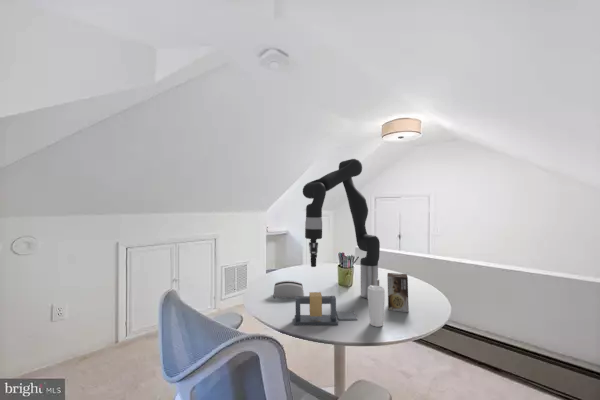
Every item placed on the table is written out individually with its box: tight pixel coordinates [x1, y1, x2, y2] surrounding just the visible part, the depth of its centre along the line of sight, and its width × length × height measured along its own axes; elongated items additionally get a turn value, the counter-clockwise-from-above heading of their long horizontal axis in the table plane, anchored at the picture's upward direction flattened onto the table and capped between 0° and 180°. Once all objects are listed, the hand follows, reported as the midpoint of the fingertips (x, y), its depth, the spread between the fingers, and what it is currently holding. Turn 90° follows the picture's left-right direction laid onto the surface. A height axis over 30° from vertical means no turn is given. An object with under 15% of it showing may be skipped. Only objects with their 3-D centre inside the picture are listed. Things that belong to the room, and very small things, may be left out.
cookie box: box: [386, 272, 410, 313], centre depth 122 cm, size 9×6×16 cm
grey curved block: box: [273, 280, 305, 299], centre depth 139 cm, size 17×5×10 cm, turn 88°
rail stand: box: [293, 295, 339, 326], centre depth 109 cm, size 18×7×10 cm, turn 90°
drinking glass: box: [367, 285, 386, 328], centre depth 106 cm, size 7×7×15 cm
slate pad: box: [336, 310, 358, 321], centre depth 114 cm, size 8×8×1 cm
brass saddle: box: [308, 291, 323, 316], centre depth 109 cm, size 5×5×8 cm
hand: (313, 264), depth 113 cm, fingers open, 8 cm apart
